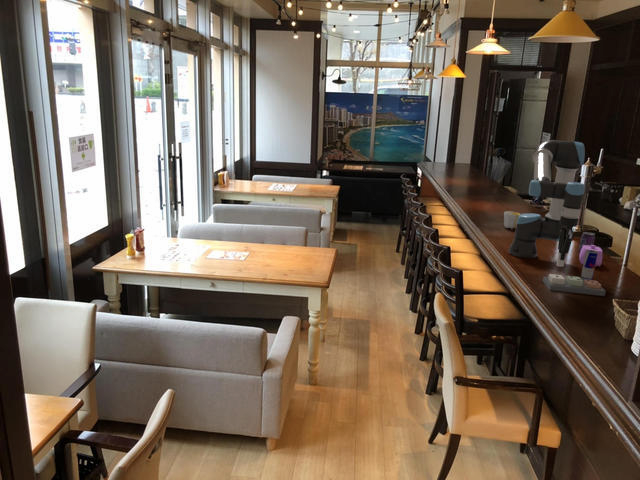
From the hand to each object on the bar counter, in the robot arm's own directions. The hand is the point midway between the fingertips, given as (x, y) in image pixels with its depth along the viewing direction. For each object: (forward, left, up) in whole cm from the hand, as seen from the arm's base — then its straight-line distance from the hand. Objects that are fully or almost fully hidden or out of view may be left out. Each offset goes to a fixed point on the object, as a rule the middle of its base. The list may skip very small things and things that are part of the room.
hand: (559, 265), depth 240 cm
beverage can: (-68, +35, -11) cm, 77 cm away
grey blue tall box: (-16, +19, -11) cm, 27 cm away
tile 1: (0, 0, -8) cm, 8 cm away
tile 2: (0, +8, -8) cm, 11 cm away
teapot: (-48, +31, -11) cm, 58 cm away
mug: (-116, +3, -11) cm, 116 cm away
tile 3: (0, +16, -9) cm, 18 cm away
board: (0, +8, -10) cm, 13 cm away
